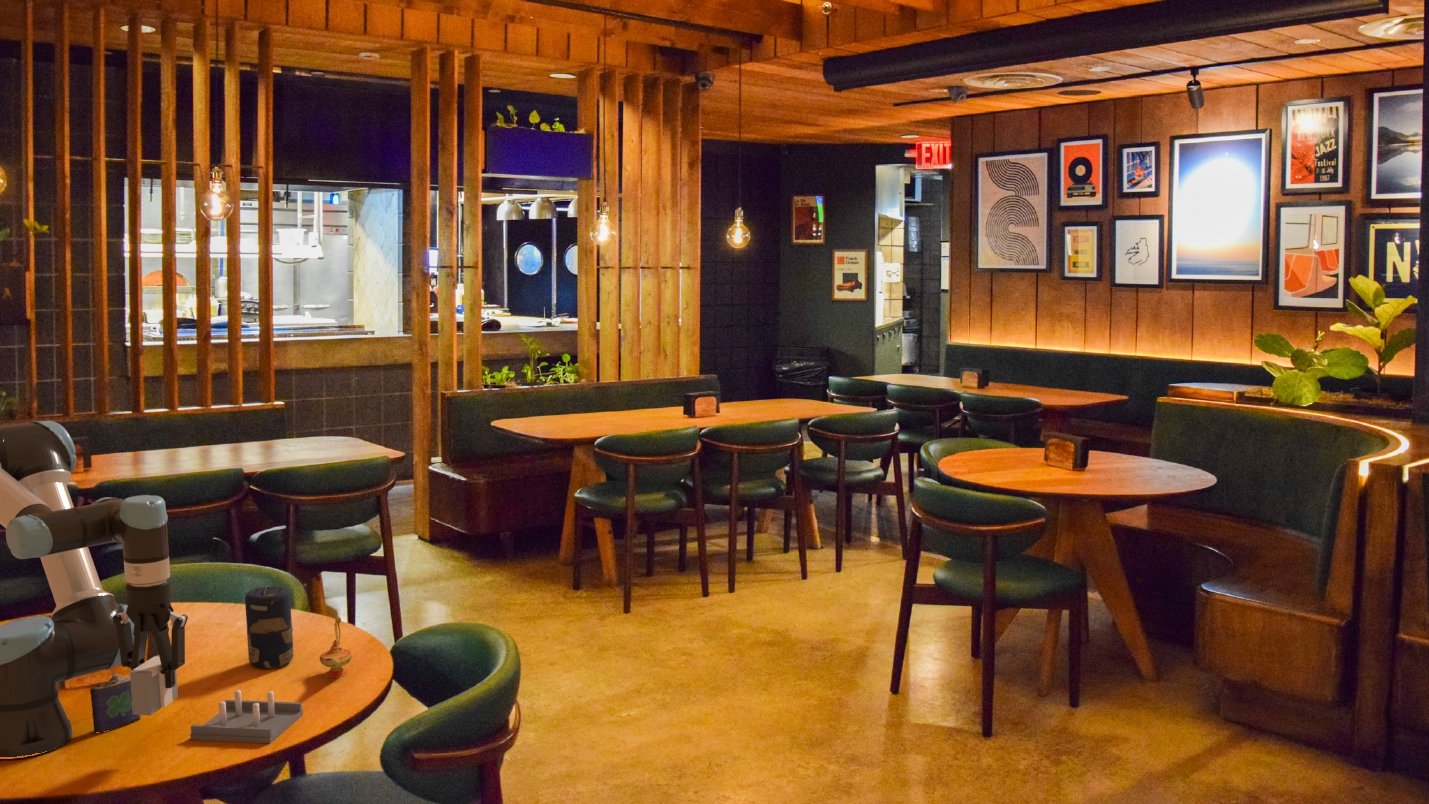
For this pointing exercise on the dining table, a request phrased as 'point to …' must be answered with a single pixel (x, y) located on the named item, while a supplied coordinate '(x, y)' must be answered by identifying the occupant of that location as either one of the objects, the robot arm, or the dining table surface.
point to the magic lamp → (336, 656)
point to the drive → (148, 687)
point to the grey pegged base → (248, 720)
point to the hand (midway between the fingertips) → (155, 703)
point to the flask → (112, 704)
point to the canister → (269, 626)
